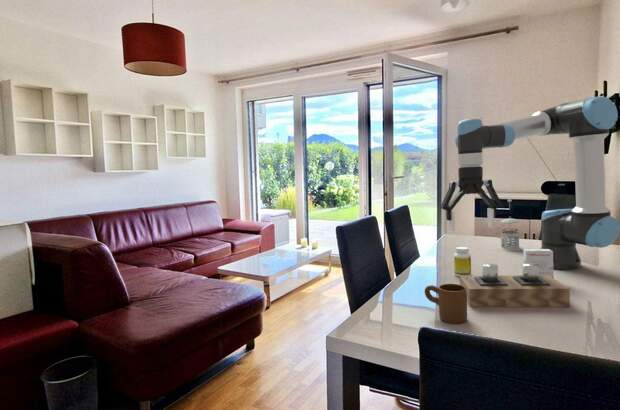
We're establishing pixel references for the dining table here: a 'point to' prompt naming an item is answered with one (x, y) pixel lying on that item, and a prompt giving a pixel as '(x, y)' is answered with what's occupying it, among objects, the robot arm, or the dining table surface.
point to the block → (516, 292)
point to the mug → (450, 302)
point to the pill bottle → (462, 262)
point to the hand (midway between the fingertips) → (471, 228)
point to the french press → (509, 235)
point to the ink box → (540, 260)
